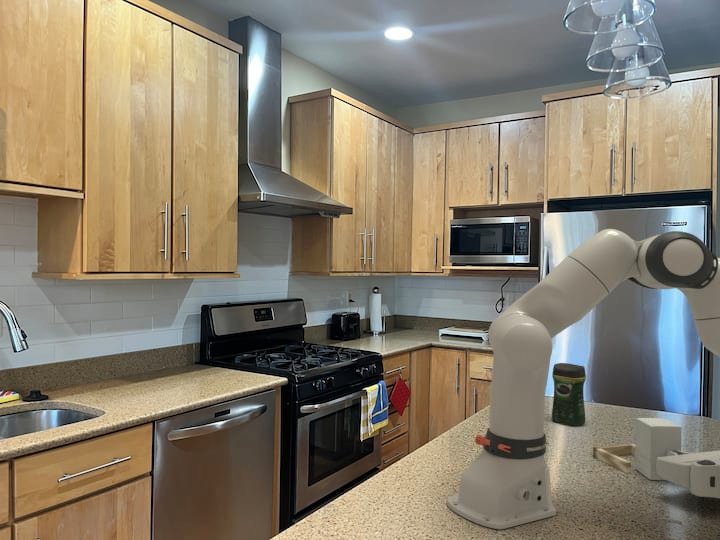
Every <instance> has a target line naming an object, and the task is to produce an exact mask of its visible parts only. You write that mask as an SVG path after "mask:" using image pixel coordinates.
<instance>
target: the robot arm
mask: <svg viewBox="0 0 720 540" xmlns="http://www.w3.org/2000/svg"><path fill="white" fill-rule="evenodd" d="M625 280H629V281H630V282H632V283H635V284H637V285H638V286H641V287H642V288H645V289H650V290H651V289H652V290H654V289H655V290H672V289H677V290H679V291H680V292H681V293H682V294H683V295H684V297H685V298H686V300H687V302H688V304H689V305H690V310H691V314H692V317H693V322H694V324H695V329H696V332H697V334H698V335H697V336H698V338H699V340H700V342H701V343H702V345H703V347H704V348H706V350H708V351H709V352H710V353H712V354H713V355H716V356H717V357H720V257H717V255H716V254H715V253H713V252H712V251H711V250H710V249H709V248H708V246H707V245H706V243H704V241H703V240H702V239H700V238H699V237H698V236H696V235H694V234H692V233H690V232H688V231H687V232H685V231H682V230H681V231H680V230H676V231H675V230H674V231H673V230H672V231H667V232H664V233H661V234H655V235H652V236H651V237H647V238H645V239H643V240H640V241H639V240H638V241H636V240H634V239H632V238H631V237H630V235H628V234H627V233H625V232H623V231H621V230H618V229H614V228H606V229H602V230H600V231H599V232H597V233H596V234H594V235H592V236H591V237H589V238H588V239H587V240H585V241H584V242H583V243H581V244H580V245H579V246H577V247H576V248H575V249H574V250H573V251H571V253H569V254H568V255H566V257H565V258H564V259H562V260H561V261H560V263H559V264H558V265H556V266H555V267H554V268H553V269H552V270H551V271H550V272H549V273H548V274H547V275H546V276H545V277H543V278H542V279H541V280H540V281H539V282H538V283H537V284H536V285H534V287H532V288H531V289H529V290H528V291H526V292H525V293H524V294H523V295H522V296H521V297H519V298H518V299H517V300H515V301H514V302H513V303H512V304H510V306H508V307H507V308H505V310H503V311H502V312H501V313H500V314H499V315H498V316H497V317H496V318H494V320H492V322H491V323H490V326H489V328H488V332H487V333H488V335H487V336H488V342H489V345H490V347H491V349H492V353H493V360H492V361H493V362H492V374H491V385H490V390H489V417H488V419H489V420H488V421H489V422H488V424H489V425H488V426H489V427H488V428H487V430H486V433H485V435H482V434H479V433H478V434H476V436H475V437H474V443H475V444H476V445H480V446H481V447H482V450H481V451H480V452H479V454H478V455H477V456H476V457H475V459H474V460H472V462H471V463H470V465H469V466H467V468H466V469H465V471H464V472H463V473H462V474H461V477H460V480H459V485H458V486H459V488H458V492H455V493H454V494H453V495H451V496H449V497H448V498H447V499H446V505H447V507H448V508H449V509H450V510H451V511H453V512H454V513H456V514H457V515H459V516H460V517H462V518H464V519H467V520H469V521H471V522H472V523H475V524H478V525H481V526H483V527H487V528H491V529H496V530H504V529H509V528H512V527H516V526H519V525H524V524H528V523H532V522H534V521H535V522H536V521H539V520H542V519H547V518H551V517H554V516H556V515H557V508H556V507H555V506H554V504H553V502H552V500H553V499H552V489H551V488H552V487H551V485H552V484H551V474H550V469H549V467H548V464H547V462H546V458H545V454H546V453H547V442H548V441H547V435H546V433H545V401H546V390H547V385H548V379H549V372H550V366H551V357H552V354H553V342H552V339H553V338H554V337H556V336H558V335H559V334H560V333H562V332H563V331H565V330H566V329H567V328H569V327H571V326H573V325H574V324H577V323H578V322H580V321H581V320H582V319H583V318H584V317H586V316H587V314H589V312H591V311H592V310H593V309H594V308H595V307H596V306H598V304H600V303H601V302H602V301H603V300H604V299H605V298H606V297H607V296H608V295H609V294H610V293H612V292H613V290H614V289H615V288H616V287H617V286H619V284H622V283H623V282H624V281H625ZM656 471H657V473H658V475H659V476H661V477H662V478H664V479H666V480H665V481H668V482H670V483H672V484H674V485H676V486H677V487H678V486H679V487H681V488H684V489H687V490H690V493H691V494H692V495H694V496H696V497H698V498H699V497H700V498H714V499H720V450H711V451H704V452H686V451H682V450H681V451H680V450H674V451H667V456H665V457H658V458H657V461H656Z"/></svg>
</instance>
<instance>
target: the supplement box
mask: <svg viewBox="0 0 720 540" xmlns="http://www.w3.org/2000/svg"><path fill="white" fill-rule="evenodd" d="M682 428H683V426H682V425H678V424H676V423H674V422H673V421H671V420H669V419H667V418H662V417H660V418H659V417H636V419H635V445H636V448H635V456H634V458H635V459H634V460H635V461H634V470H636V471H638V472H639V473H640V474H641V475H643V476H644V477H646V478H647V479H649V481H667V480H666V479H664V478H662V477H661V476H659V475H658V473H657V471H656V461H657V458H658V457H665V456H667V451H674V450H680V451H682Z"/></svg>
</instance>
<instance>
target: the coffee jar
mask: <svg viewBox="0 0 720 540" xmlns="http://www.w3.org/2000/svg"><path fill="white" fill-rule="evenodd" d="M586 375H587V374H586V369H585V366H584V365H580V364H572V363H567V362H566V363H565V362H558V363H555V364H553V368H552V380H553V401H552V408H551V420H552V421H553V422H556V423H558V424H563V425H565V426H580V427H581V426H583V425H584V424H585V423H586V411H585V408H586V407H585V397H584V387H585V382H586V380H587V379H586V378H587V376H586Z"/></svg>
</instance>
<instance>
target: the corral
mask: <svg viewBox="0 0 720 540" xmlns="http://www.w3.org/2000/svg"><path fill="white" fill-rule="evenodd" d="M635 448H636V443H623V444H622V443H621V444H612V445H603V446H594V447H593V449H592V457H593V458H594V459H596V460H599V461H601V462H603V463H605V464H607V465H609V466H610V467H613V468H615V469H618V470H619V471H621V472H623V473H625V474H630V473H631V472H632V471H631V469H632V468H631V466H632V464H631V463H632V462H631V461H629V460H627V459H624V458H622V457H623V456H631V455H632V456H634V457H635Z"/></svg>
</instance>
